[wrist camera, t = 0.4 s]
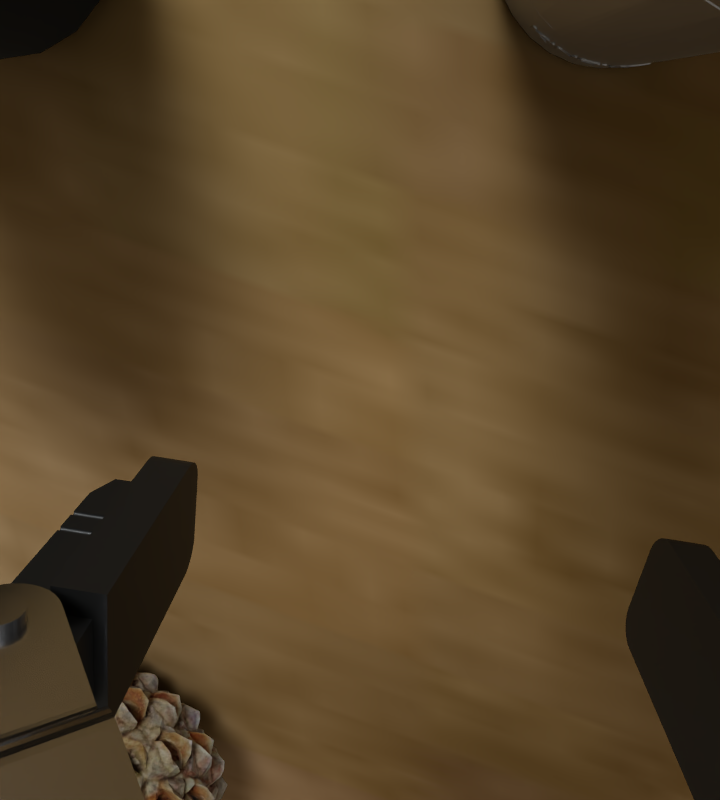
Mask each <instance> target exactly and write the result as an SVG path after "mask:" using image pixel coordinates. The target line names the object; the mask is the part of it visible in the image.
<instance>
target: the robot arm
mask: <svg viewBox="0 0 720 800" xmlns="http://www.w3.org/2000/svg"><path fill="white" fill-rule="evenodd" d="M505 1H506V3H507V5H508V7H509V9H510V11H511V14H512V15H513V17H514V18H515V19H516V20H517V22H518V23H519V24H520V26H521V27H522V28H523V29H524V31H525V32H526V33H527V35H528V36H529V37H530V38H532V39H533V40H534V41H535V42H537V43H538V44H539V45H540V46H542V47H543V48H544V49H545V50H547V51H548V52H549V53H551V54H553V55H555V56H558V57H560V58H562V59H564V60H566V61H569V62H571V63H573V64H579V65H584V66H589V67H595V68H616V67H622V68H626V67H634V66H642V65H648V64H651V63H652V62H662V61H668V60H674V59H680V58H686V57H692V56H698V55H704V54H711V53H717V52H720V0H505ZM197 476H198V473H197V465H196V463H193V462H187V461H181V460H174V459H168V458H162V457H155V456H152V457H151V458H150V459H149V460H148V461H147V462H146V464H145V465H144V466H143V467H142V469H141V470H140V471H139V472H138V474H137V475H136V476H135V478H134V479H133V480H132V481H131V482H130V481H124V480H117V479H115V480H113V481H111V482H109V483H108V484H106V485H104V486H102V487H100V488H98V489H96V490H94V491H93V492H91V493H89V495H88V496H87V497H86V498H85V499H84V500H83V501H82V503H81V504H80V505H79V506H78V507H77V508H76V509H75V511H74V514H73V515H70V516H69V518H68V519H67V520H66V521H65V522H64V523H63V524H62V526H61V529H60V531H59V530H57V531H56V532H55V534H54V535H53V536H52V537H51V538H50V539H49V540H48V542H47V543H46V544H45V545H44V546H43V547H42V549H41V550H40V551H39V552H38V553H37V554H36V555H35V557H34V558H33V559H32V560H31V561H30V562H29V563H28V565H27V566H26V567H25V568H24V569H23V570H22V572H21V573H20V574H19V575H18V576H17V577H16V578H15V580H14V581H13V582H12V583H11V584H3V585H0V800H145V799H144V797H143V794H142V791H141V788H140V786H139V783H138V780H137V777H136V774H135V772H134V769H133V766H132V763H131V761H130V758H129V755H128V752H127V750H126V747H125V744H124V741H123V739H122V736H121V733H120V730H119V727H118V725H117V722H116V720H115V715H116V713H117V711H118V709H119V707H120V705H121V703H122V701H123V699H124V697H125V695H126V693H127V691H128V689H129V687H130V685H131V683H132V681H133V679H134V677H135V675H136V673H137V671H138V669H139V667H140V665H141V663H142V661H143V659H144V657H145V655H146V653H147V651H148V649H149V647H150V645H151V643H152V641H153V638H154V636H155V634H156V632H157V630H158V628H159V626H160V624H161V622H162V620H163V618H164V616H165V614H166V612H167V610H168V608H169V606H170V604H171V602H172V600H173V598H174V596H175V594H176V592H177V590H178V588H179V586H180V584H181V582H182V580H183V578H184V576H185V574H186V571H187V569H188V566H189V562H190V559H191V555H192V550H193V543H194V531H195V513H196V495H197ZM626 637H627V643H628V646H629V649H630V651H631V653H632V656H633V658H634V660H635V663H636V665H637V667H638V670H639V672H640V674H641V677H642V679H643V681H644V684H645V686H646V688H647V691H648V693H649V695H650V698H651V700H652V702H653V705H654V707H655V709H656V712H657V714H658V716H659V719H660V721H661V723H662V726H663V728H664V730H665V733H666V735H667V737H668V740H669V742H670V744H671V747H672V749H673V751H674V754H675V756H676V758H677V761H678V763H679V765H680V768H681V770H682V772H683V775H684V777H685V779H686V782H687V784H688V786H689V789H690V791H691V793H692V796H693V798H694V800H720V560H719V559H718V558H717V556H716V555H715V554H714V552H713V551H712V550H711V549H710V548H709V547H708V546H706V545H702V544H695V543H689V542H683V541H677V540H670V539H664V538H661V539H658V540H657V541H656V542H655V543H654V544H653V546H652V548H651V550H650V553H649V555H648V558H647V561H646V563H645V566H644V569H643V571H642V574H641V577H640V579H639V582H638V585H637V587H636V590H635V593H634V595H633V598H632V600H631V603H630V606H629V609H628V612H627V617H626Z"/></svg>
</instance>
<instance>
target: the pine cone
mask: <svg viewBox="0 0 720 800" xmlns="http://www.w3.org/2000/svg"><path fill="white" fill-rule="evenodd" d="M115 720H116V722H117V725H118V727H119V730H120V733H121V736H122V739H123V741H124V744H125V747H126V750H127V752H128V755H129V758H130V761H131V763H132V766H133V769H134V772H135V774H136V777H137V780H138V783H139V786H140V788H141V791H142V794H143V797H144V799H145V800H220V799H221V798H222V796H223V794H224V791H225V789H226V787H227V783H226V782H225V780H224V779H223V777H222V776H221V775H222V773H223V772H224V762H225V761H224V760H223V759H222V758H221V757H220V756H219V754H218V751H217V749H216V747H213V743H214V740H213V739H212V738H210V737H209V736H208V735H206V734H205V733H204V730H203V729H200V728H198V725H199V721H200V711H198V710H196V709H193V708H191V707H190V706H188V705H186V704H184V703H181V701H180V696H179V695H176V694H171V693H169V691H158V678H157V677H156V675H155V674H151V673H146V672H145V673H140V672H137V673H136V675H135V677H134V679H133V681H132V683H131V685H130V687H129V689H128V691H127V693H126V695H125V697H124V699H123V701H122V703H121V705H120V707H119V709H118V711H117V713H116V715H115Z"/></svg>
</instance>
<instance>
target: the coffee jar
mask: <svg viewBox="0 0 720 800" xmlns="http://www.w3.org/2000/svg"><path fill="white" fill-rule="evenodd" d="M99 1H100V0H0V59H4V58H10V57H17V56H23V55H30V54H37V53H41V52H43V51H45V50H46V49H48V48H49V47H51V46H53V45H54V44H56V43H58V42H59V41H61V40H63V39H64V38H66V37H68V36H69V35H71V34H73V33H74V32H76V31H77V30H78V28H79V27H80V26H81V24H82V23H83V22H84V20H85V19H86V18H87V16H88V15H89V14H90V12H91V11H92V10H93V8H94V7H95V6H96V4H97V3H98V2H99Z"/></svg>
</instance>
